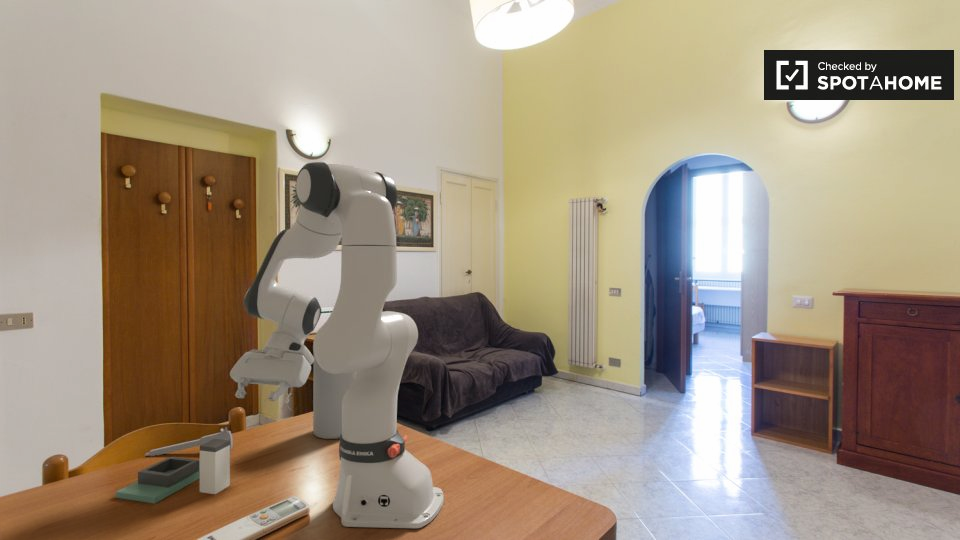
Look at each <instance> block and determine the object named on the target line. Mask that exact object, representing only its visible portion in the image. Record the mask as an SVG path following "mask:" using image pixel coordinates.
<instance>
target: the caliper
mask: <svg viewBox="0 0 960 540" xmlns="http://www.w3.org/2000/svg"><path fill="white" fill-rule="evenodd" d="M213 439H221V440H230V451H231V450H232V449H233V435H232V431H231V430H228V427H227V426H226V427H225V428H221V429H220V431H219V432H217V433H212V434H209V435H204V436H202V437H200V438H198V439H194V440H190V441H184V442H181V443H180V442H179V443H177V444H176V443H175V444H172V445H168V446H162V447H159V448H154V449H150V451H149V452H146V453H145V454H144V455H143V456H144V457H147V456H150V457H156V456H155V455H157V456H161V455H164V454H168V453H173V452H178V451H182V450H186V449H190V448H195V447H200V445H202V444H205V443H207V442H209V441H211V440H213Z"/></svg>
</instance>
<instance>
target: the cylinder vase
mask: <svg viewBox="0 0 960 540" xmlns="http://www.w3.org/2000/svg"><path fill="white" fill-rule="evenodd" d="M313 357H314V362H313V375H312V376H313V379H312V380H313V384H312V385H313V387H312V388H313V390H312V391H313V392H312V393H313V397H312V398H313V400H312V404H313V406H312V407H313V411H312V413H313V414H312V415H313V416H312V417H313V421H312V424H313V425H312V427H313V428H312V429H313V430H312V431H313V435H314V436H315V437H317V438H320V439H324V440H338V439H339V440H340V435H341V434H342V399H343V396H344V394H345V392H346V391H347V389H348V388H349V387H350V386H351V384H352V382H353V380H354V378H355V376H356V373H357V372H356V373H350V374H331V373H328V372H326V371H324V370H323V369H322V368H321V367H320V366H319V364H318V363H317V361H316V359H315V356H314V355H313Z"/></svg>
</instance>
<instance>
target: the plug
mask: <svg viewBox="0 0 960 540" xmlns="http://www.w3.org/2000/svg"><path fill="white" fill-rule="evenodd" d="M199 462H200V478H199V493H203V494H210V495H216V494H218V493H220V492H222V491H223V490H224V489H227V488H228V487H229V486H230V483H231V481H230V480H231V471H230V469H231V450H230V440H226V439H225V440H221V439H213V440H211V441H209V442H207V443H205V444H202V445H200V446H199Z"/></svg>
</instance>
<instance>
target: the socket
mask: <svg viewBox="0 0 960 540" xmlns="http://www.w3.org/2000/svg"><path fill="white" fill-rule="evenodd" d="M198 480H200V459H195V458H185V457H178V456H168V457H167V458H165V459H162V460H160V461H157V462H156V463H154V464H151V465H149V466H147V467H145V468H143V469H141V470H139V471H137V481H135V482H133V483H130V484H129V485H127V486H125V487H123V488H121V489H118V490H116V491H115V498H116V499H123V500H128V501H129V500H130V501H137V502H143V503H147V504H156V503H158V502H160V501H162V500H163V499H165V498H167V497H169V496H171V495H173V494H175V493H176V492H178V491H179V490H182V489H183V488H185V487H186V486H187V487H188V485H189V486H190V484H192V483H194V482H196V481H198Z"/></svg>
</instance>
